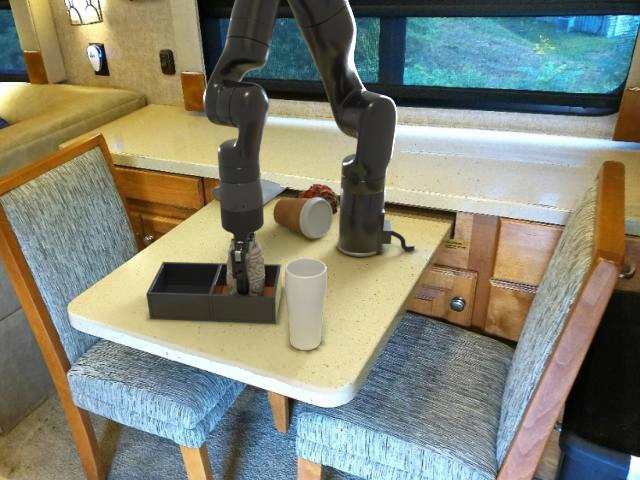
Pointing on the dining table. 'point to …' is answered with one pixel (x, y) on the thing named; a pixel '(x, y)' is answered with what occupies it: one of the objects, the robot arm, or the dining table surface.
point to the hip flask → (268, 187)
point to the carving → (254, 272)
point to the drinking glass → (305, 301)
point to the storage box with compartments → (210, 294)
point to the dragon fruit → (321, 195)
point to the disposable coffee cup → (304, 215)
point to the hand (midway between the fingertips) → (245, 283)
